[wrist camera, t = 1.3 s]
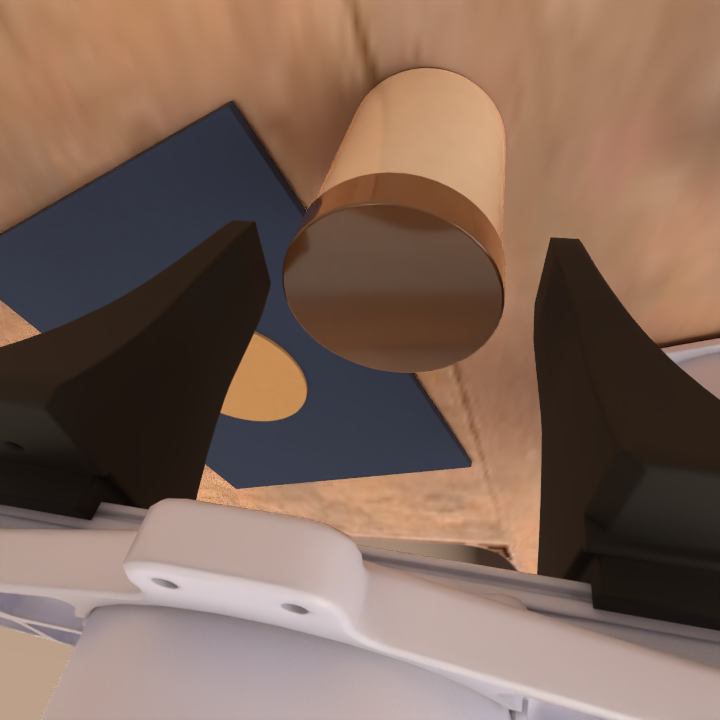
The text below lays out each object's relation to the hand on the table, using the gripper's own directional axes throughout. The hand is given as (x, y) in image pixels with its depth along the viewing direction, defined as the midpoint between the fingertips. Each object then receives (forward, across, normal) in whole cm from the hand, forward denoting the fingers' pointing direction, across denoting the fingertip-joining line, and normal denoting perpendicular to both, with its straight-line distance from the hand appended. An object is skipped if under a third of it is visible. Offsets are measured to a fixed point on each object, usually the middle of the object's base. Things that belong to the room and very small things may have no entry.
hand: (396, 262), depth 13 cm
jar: (+6, 0, 0) cm, 6 cm away
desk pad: (+6, +10, +12) cm, 17 cm away
